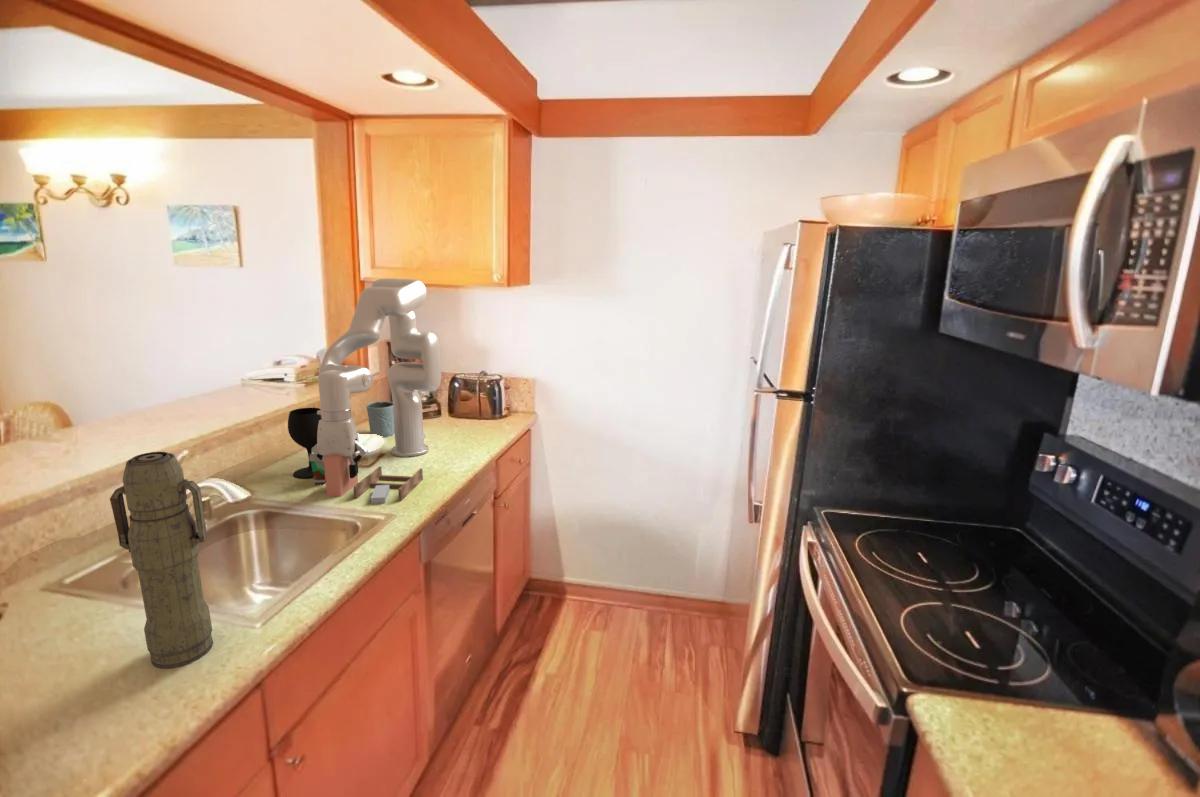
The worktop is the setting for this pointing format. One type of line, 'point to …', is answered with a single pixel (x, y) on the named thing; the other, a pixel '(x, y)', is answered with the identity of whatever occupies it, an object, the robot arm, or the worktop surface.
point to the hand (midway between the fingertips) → (341, 475)
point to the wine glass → (304, 434)
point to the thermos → (165, 556)
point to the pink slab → (338, 475)
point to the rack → (377, 475)
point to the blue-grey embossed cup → (381, 418)
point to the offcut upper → (380, 494)
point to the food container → (317, 469)
